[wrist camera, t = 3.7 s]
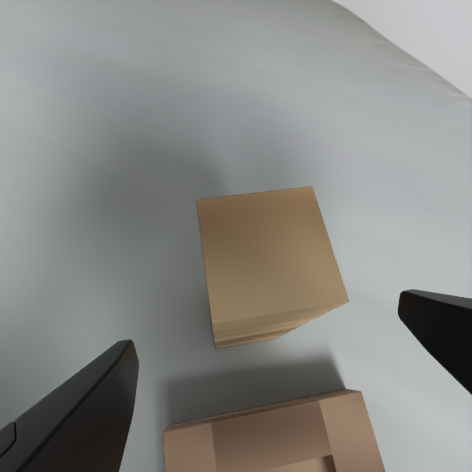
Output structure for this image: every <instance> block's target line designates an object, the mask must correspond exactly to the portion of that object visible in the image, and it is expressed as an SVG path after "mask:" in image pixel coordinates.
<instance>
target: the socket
mask: <svg viewBox="0 0 472 472" xmlns="http://www.w3.org/2000/svg"><path fill="white" fill-rule="evenodd" d="M163 439H164V456H165V472H385V469H384V466H383V462H382V459H381V456H380V452H379V449H378V446H377V443H376V439H375V436H374V433H373V429H372V426H371V423H370V419H369V416H368V413H367V409H366V406H365V403H364V399H363V396H362V393H361V391H355V390H349V389H344V390H339V391H334V392H329V393H324V394H320V395H315V396H310V397H305V398H300V399H295V400H290V401H285V402H281V403H276V404H271V405H266V406H261V407H256V408H251V409H246V410H241V411H237V412H232V413H227V414H222V415H217V416H212V417H207V418H202V419H198V420H193V421H188V422H183V423H178V424H173V425H169V426H168V427H167V429H166V430H165V431H164V432H163Z"/></svg>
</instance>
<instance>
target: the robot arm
mask: <svg viewBox="0 0 472 472" xmlns="http://www.w3.org/2000/svg"><path fill="white" fill-rule="evenodd" d="M398 315H399V318H400V319H401V321H402V322H403V323H404V324H405V325H406V327H407V328H408V329H409V330H410V331H411V332H412V334H413V335H414V336H415V337H416V338H417V340H418V341H419V342H420V343H421V344H422V345H423V347H424V348H425V349H426V350H427V351H428V352H429V353H430V354H431V355H432V356H433V357H434V358H435V359H436V360H437V361H438V362H439V363H440V364H441V365H442V366H443V367H444V368H445V369H446V370H447V371H448V372H449V373H450V374H451V375H452V376H453V377H454V378H455V379H456V380H457V381H458V382H459V383H460V384H461V385H462V386H463V387H464V388H465V389H466V390H467V391H468V392H469V393H470V394H471V395H472V299H470V298H464V297H458V296H452V295H445V294H439V293H433V292H427V291H421V290H414V289H411V290H406V291H402V292H401V294H400V298H399V305H398ZM138 371H139V362H138V357H137V353H136V350H135V346H134V343H133V341H132V340H131V339H129V340H123V341H119V342H117V343H116V344H114V345H113V346H112V347H111V348H109V349H108V350H107V351H105V352H104V353H103V354H101V355H100V356H99V357H97V358H96V359H95V360H93V361H92V362H91V363H89V364H88V365H87V366H85V367H84V368H83V369H81V370H80V371H79V372H78V373H76V374H75V375H74V376H72V377H71V378H70V379H68V380H67V381H66V382H64V383H63V384H62V385H60V386H59V387H58V388H56V389H55V390H54V391H52V392H51V393H50V394H48V395H47V396H46V397H45V398H43V399H42V400H41V401H39V402H38V403H37V404H35V405H34V406H33V407H31V408H30V409H29V410H27V411H26V412H25V413H23V414H22V415H21V416H19V417H18V418H17V419H16V420H15V422H14V421H13V422H11V423H9V424H8V425H7V426H5V427H4V428H3V429H1V430H0V472H119V469H120V465H121V461H122V457H123V453H124V449H125V445H126V441H127V437H128V433H129V428H130V424H131V420H132V416H133V411H134V404H135V396H136V388H137V379H138Z"/></svg>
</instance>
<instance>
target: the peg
mask: <svg viewBox="0 0 472 472" xmlns="http://www.w3.org/2000/svg"><path fill="white" fill-rule="evenodd" d="M196 204H197V212H198V220H199V227H200V235H201V242H202V250H203V257H204V265H205V273H206V280H207V288H208V295H209V303H210V310H211V318H212V326H213V333H214V341H215V348H216V349H219V348H225V347H230V346H236V345H242V344H247V343H253V342H258V341H264V340H270V339H275V338H277V337H279V336H281V335H283V334H285V333H287V332H289V331H291V330H293V329H295V328H297V327H299V326H301V325H303V324H305V323H307V322H309V321H311V320H313V319H315V318H317V317H319V316H321V315H323V314H325V313H327V312H329V311H331V310H333V309H335V308H337V307H339V306H341V305H343V304H345V303H347V302H349V299H348V296H347V293H346V290H345V287H344V284H343V281H342V278H341V275H340V271H339V268H338V265H337V262H336V259H335V256H334V253H333V250H332V247H331V244H330V240H329V237H328V234H327V231H326V228H325V225H324V222H323V219H322V216H321V213H320V209H319V206H318V203H317V200H316V197H315V194H314V191H313V188H312V186H310V187H301V188H292V189H284V190H275V191H266V192H258V193H249V194H240V195H232V196H223V197H214V198H206V199H197V200H196Z"/></svg>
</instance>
